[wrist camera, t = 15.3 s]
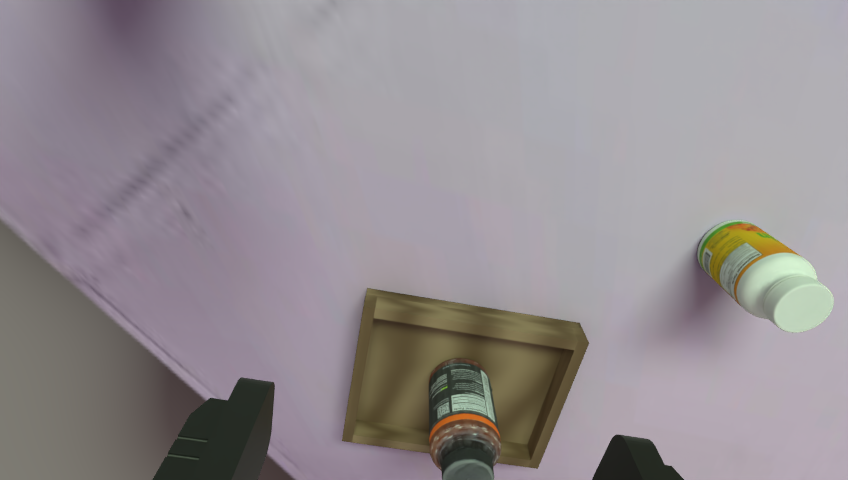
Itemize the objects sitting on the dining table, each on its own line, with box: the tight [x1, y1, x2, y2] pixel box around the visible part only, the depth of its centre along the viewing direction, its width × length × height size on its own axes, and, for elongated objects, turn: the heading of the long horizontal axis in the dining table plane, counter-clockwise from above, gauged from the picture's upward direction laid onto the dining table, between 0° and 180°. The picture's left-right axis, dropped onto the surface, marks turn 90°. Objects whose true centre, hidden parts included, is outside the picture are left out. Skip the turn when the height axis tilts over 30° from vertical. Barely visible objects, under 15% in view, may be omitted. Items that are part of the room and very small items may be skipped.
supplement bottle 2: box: [697, 220, 834, 333], centre depth 39 cm, size 5×5×10 cm
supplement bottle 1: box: [429, 358, 501, 480], centre depth 43 cm, size 6×6×11 cm
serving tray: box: [342, 288, 589, 469], centre depth 48 cm, size 20×16×3 cm
